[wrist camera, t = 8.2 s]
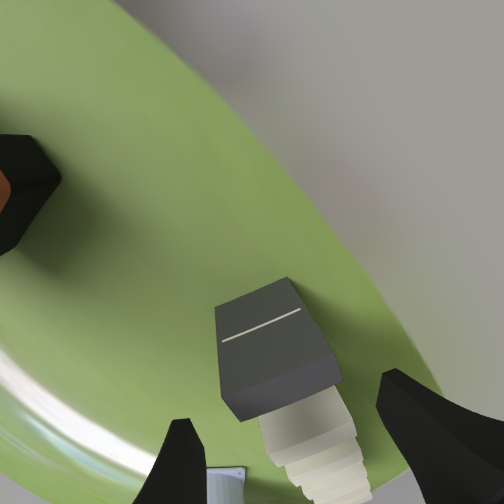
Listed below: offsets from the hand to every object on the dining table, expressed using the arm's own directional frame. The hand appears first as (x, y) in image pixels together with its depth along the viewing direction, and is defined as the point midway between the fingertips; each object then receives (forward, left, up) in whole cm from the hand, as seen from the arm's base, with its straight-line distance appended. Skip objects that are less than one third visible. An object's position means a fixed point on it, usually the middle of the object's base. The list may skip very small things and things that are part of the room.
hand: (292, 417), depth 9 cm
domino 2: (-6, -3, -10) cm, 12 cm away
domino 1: (-1, 0, -10) cm, 10 cm away
